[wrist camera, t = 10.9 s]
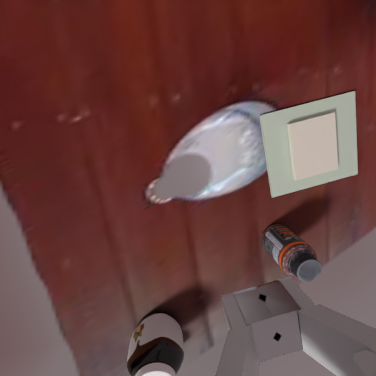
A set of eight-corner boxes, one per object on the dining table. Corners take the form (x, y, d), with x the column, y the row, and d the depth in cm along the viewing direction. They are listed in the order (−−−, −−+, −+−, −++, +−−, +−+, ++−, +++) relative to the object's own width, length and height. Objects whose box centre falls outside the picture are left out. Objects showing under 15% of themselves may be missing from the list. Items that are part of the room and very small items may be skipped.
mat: (259, 115, 38) (260, 115, 38) (352, 91, 39) (355, 90, 38) (271, 196, 42) (272, 197, 42) (355, 173, 43) (357, 174, 43)
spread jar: (162, 300, 46) (162, 356, 35) (197, 331, 49) (207, 392, 38) (119, 335, 47) (105, 400, 36) (155, 363, 50) (153, 431, 39)
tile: (289, 124, 37) (335, 112, 38) (286, 124, 39) (329, 112, 39) (296, 180, 40) (338, 168, 41) (292, 178, 41) (333, 167, 42)
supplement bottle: (291, 223, 44) (333, 254, 34) (285, 250, 46) (323, 288, 35) (263, 221, 44) (296, 253, 33) (257, 249, 45) (287, 288, 34)
